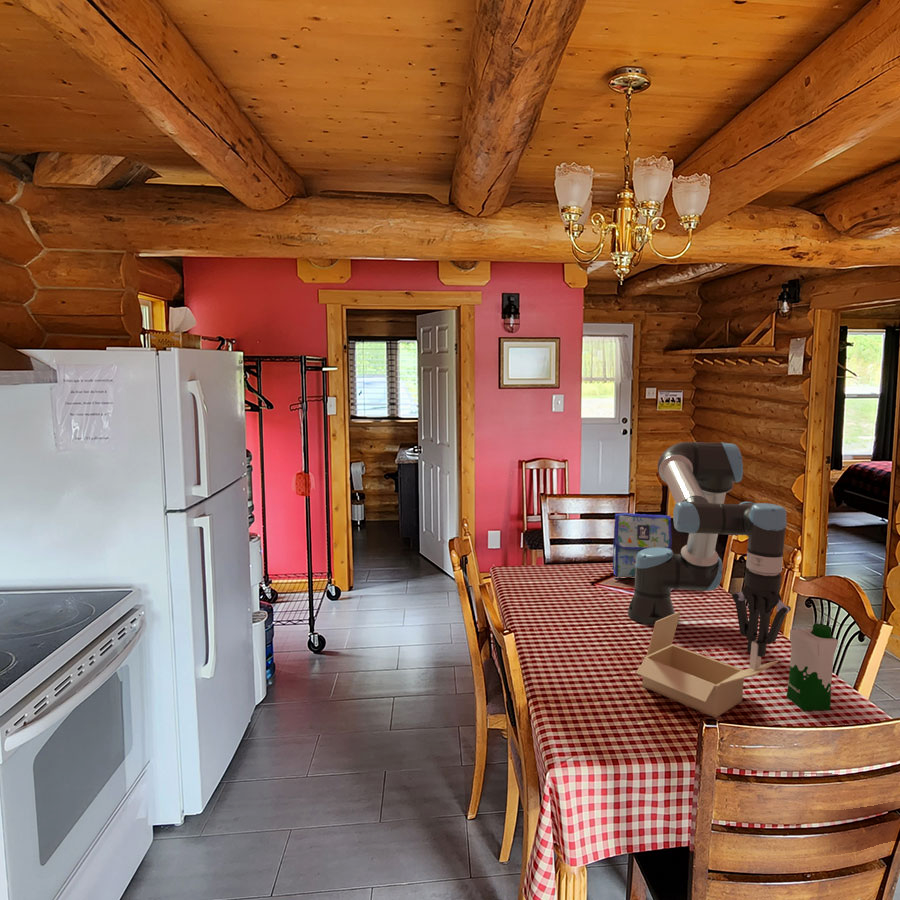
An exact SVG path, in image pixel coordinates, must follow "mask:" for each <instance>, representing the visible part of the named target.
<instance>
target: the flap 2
mask: <svg viewBox="0 0 900 900" xmlns="http://www.w3.org/2000/svg"><path fill="white" fill-rule="evenodd" d="M777 663H779V659H778V660H774V661H770V662H767V663H763V664H761V667H760V668H758V669H756V670H753V669H751V668H746V669H743V670H742V671H741V672H739V673H737V674H735V675H734V676H732V677H730V678H729V679H727V680H725V681H723V682H722V683H720V685H722V684H725V683H729V682H733V681H736V680H740V679H743V678H744V679H746V678H751V677H753V676H757V675H759V674H760V673H762V672H764V671H765V670H768V668H771V667H772V666H774V665H776V664H777Z"/></svg>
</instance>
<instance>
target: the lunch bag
mask: <svg viewBox="0 0 900 900" xmlns="http://www.w3.org/2000/svg"><path fill="white" fill-rule="evenodd" d="M613 531H614V532H613V543H612V546H613V547H612V548H613V552H612V555H613V557H612V570H613V575H615V576H614V578H615V577H635V571H636V567H635V564H636V557H637V554H638V552H640V551H641V550H643V549H647V548H655V547H662V548H668V549H671V550H672V545H673V540H672V539H673V538H672V515H666V514H665V515H664V514H646V513H643V514H639V513H631V512H630V513H629V512H621V513H615V514H614V530H613Z"/></svg>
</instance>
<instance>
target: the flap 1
mask: <svg viewBox="0 0 900 900" xmlns="http://www.w3.org/2000/svg"><path fill="white" fill-rule="evenodd" d="M680 617H681V611H677V612H675V614H672V615H670V616H667V617H665V618H662V619H660V620H657V621H656V622H655V625H653V630H652V633H651V638H650V642H649V644H648V649H647V653H646V656H648V655H650V654H652V653H654V652H657V651H659V650H661V649H663V648H665V647H667V646H670V645H673V642H674V639H675V634H676V629H677V627H678V623H679V618H680Z"/></svg>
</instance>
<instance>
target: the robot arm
mask: <svg viewBox="0 0 900 900" xmlns="http://www.w3.org/2000/svg"><path fill="white" fill-rule="evenodd" d="M657 472H658V475H659V478H660V479H661V480H662V481H663V482H664V483H665V484H666V485H667V487H668V488H669V491H670V493H671V496H672V498H673V500H674V502H675V505H674V507H673V515H672V516H673V517H672V519H673V527H674V530H676V531H677V532H679V533H687V534H688V537H687V543H686V544H685V545H683V546H682V548H681V549H680V553H674V552H673V549H672V548H671V549H668V548H662V547H655V548H647V549H643V550H641V551H640V552H638V554H637V557H636V564H635V567H636V571H635V579H634V593H633V595H632V598H631V601H630V603H629V605H628V607H627V608H628V609H627V610H628V611H627V615H628V618H630V619H631V620H632V621H635V622H638V623H640V624H643V625H644V624H645V625H650V626H654V625H655V622H656V621H657V620H660V619H662V618H665V617H667V616H670V615H672V614H675V613H676V612H675V609H674V606H673V602H672V598H671V593H672V590H683V591H684V590H685V591H686V590H687V591H700V592H705V591H706V592H709V591H711V592H712V591H715V590H716V589H718V587H720V584H721V581H722V577H723V569H724V567H723V561H722V558H720V556H719V554H718V552H717V550H716V545H717V541H718V536H719V535H731V536H746V537H748V538H747V547H746V548H747V549H746V559H745V560H746V562H745V567H746V568H747V569H746V570H745V571H744V572H745V575H744V586H743V588H742V590H741V591H737V592H734V593H732V595H731V597H732V599H733V601H734V604H735V608H736V614H737V622H738V627H739V628H738V629H739V634H740V635H741V636H744V637H746V639H747V646H746V647H747V649H746V650H747V653H748V654H750V656H749V668H751V669H753V670H756V669H758V668H760V667H761V665H762V658H763V657H765V656H766V652H767V644H768V645H770V644H772V643H775V642H776V641H777V638H778V635H779V633H780V630H781V627H782V625H783V623H784V621H785V618H786V615H787V614H788V613H790V611H791V610H792V609H791V608H792V607H791V606H789V605H786V604H785V603H784V602H782V597H781V594H780V591H781V584H782V574H781V572H783V563H784V562H783V559H784V550H785V538H786V529H787V524H788V521H787V510H786V508H785V507H784V506H781V505H778V504H774V503H767V502H766V503H765V502H763V503H762V502H758V503H757V502H752V501H742V502H740V503H737V504H736V503H725V500H726V494H727V493H729V492H731V491H732V490H733V488H734V483H740V482H742V480H743V476H744V464H743V455H742V453H741V450H740V448H739V447H738V446H737V444H735V443H728V442H723V441H721V442H702V441H700V442H697V441H682V442H677V443H676V444H673V445H670V446H669V447H668V448H667V449H665V450H664V451H663V452H662V454H661V455H660V456H659V458H658V462H657ZM746 602H747V603H746ZM747 604H748V609H747ZM775 607H776V614H775V616H774V617H773V618H774V619H773V621H772V623H771V626H770V620H771V619H770V618H771V613H772V610H773V609H775ZM747 610H748V611H747ZM748 612H749V615H748ZM749 668H748V669H749Z"/></svg>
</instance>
